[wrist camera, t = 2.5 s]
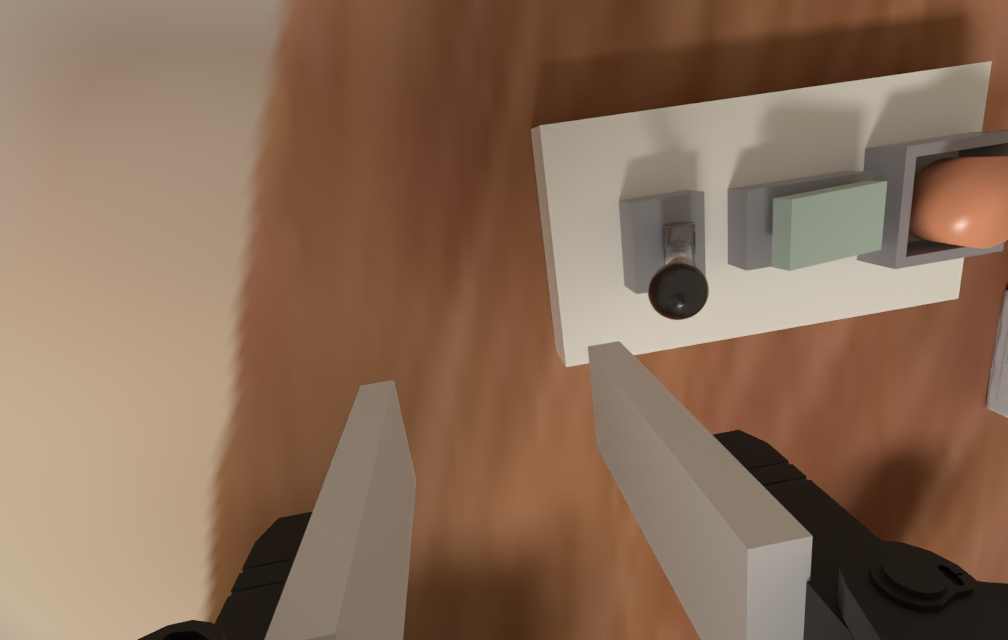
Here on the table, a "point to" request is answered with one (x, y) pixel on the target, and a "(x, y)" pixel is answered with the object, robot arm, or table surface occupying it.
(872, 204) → the rocker switch
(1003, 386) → the tea box
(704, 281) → the toggle lever
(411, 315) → the table surface
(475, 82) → the table surface
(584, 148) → the switch panel
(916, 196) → the push button
